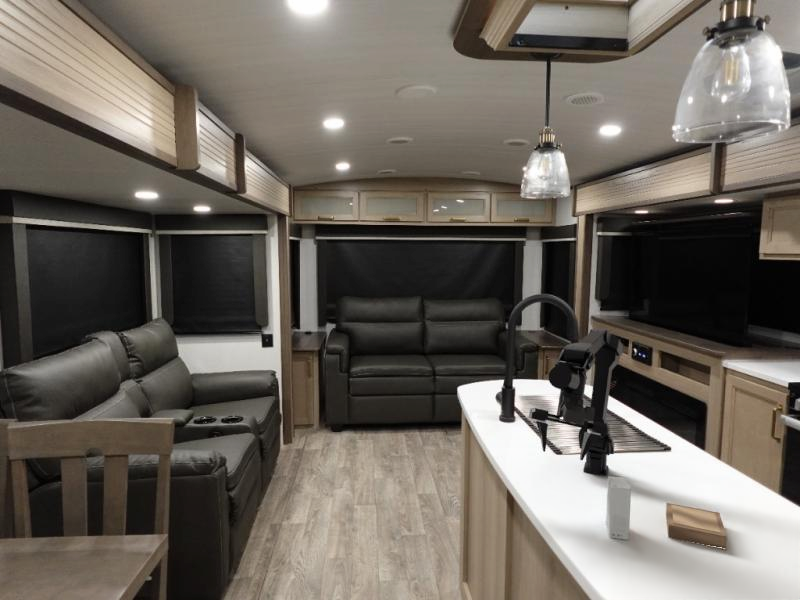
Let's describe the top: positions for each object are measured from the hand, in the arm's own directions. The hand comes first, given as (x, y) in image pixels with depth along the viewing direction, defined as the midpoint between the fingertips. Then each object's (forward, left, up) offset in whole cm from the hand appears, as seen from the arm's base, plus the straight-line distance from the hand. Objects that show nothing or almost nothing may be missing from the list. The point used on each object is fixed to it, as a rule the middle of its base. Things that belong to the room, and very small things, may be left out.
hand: (562, 455), depth 124 cm
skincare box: (+6, +13, -14) cm, 20 cm away
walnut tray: (-2, +29, -13) cm, 32 cm away
